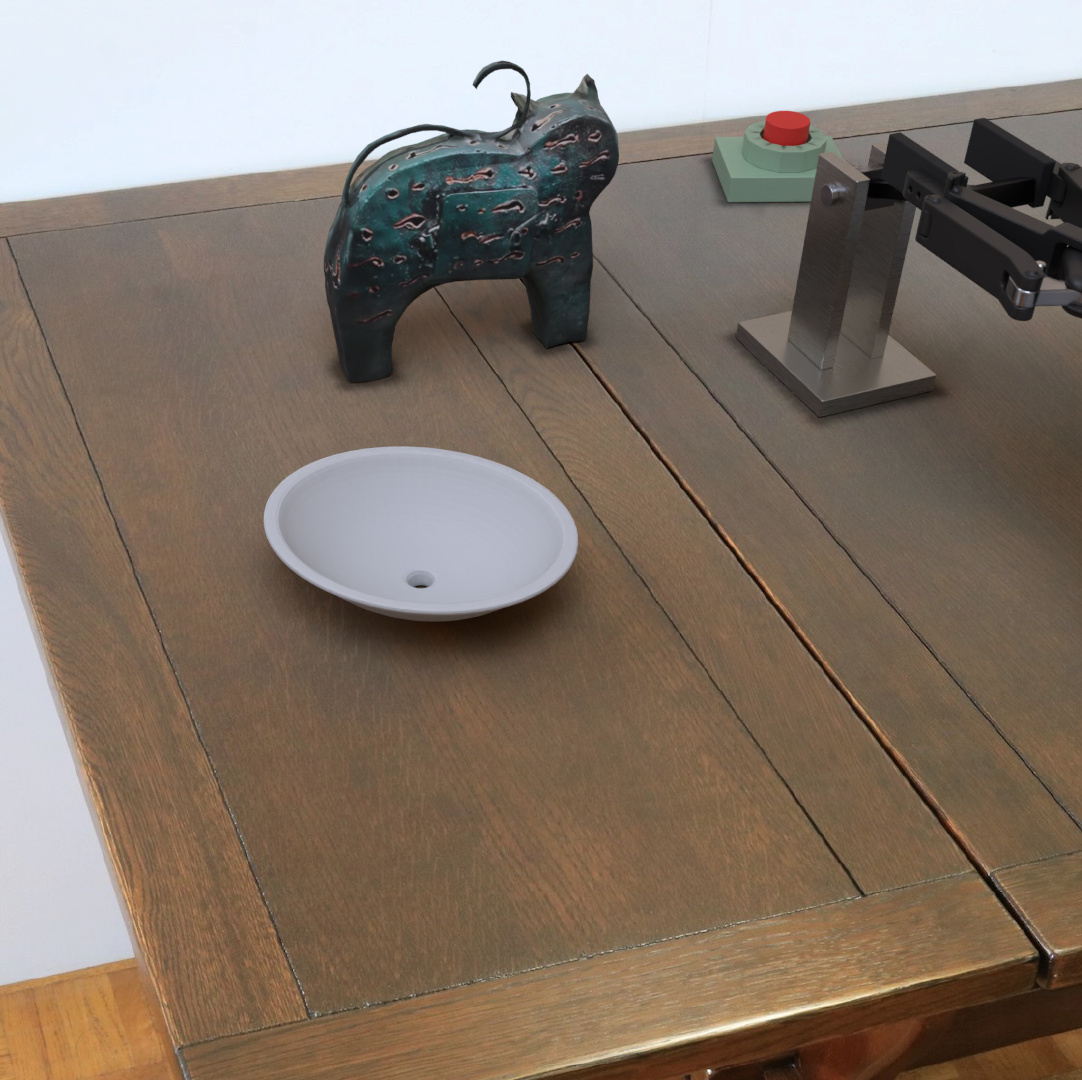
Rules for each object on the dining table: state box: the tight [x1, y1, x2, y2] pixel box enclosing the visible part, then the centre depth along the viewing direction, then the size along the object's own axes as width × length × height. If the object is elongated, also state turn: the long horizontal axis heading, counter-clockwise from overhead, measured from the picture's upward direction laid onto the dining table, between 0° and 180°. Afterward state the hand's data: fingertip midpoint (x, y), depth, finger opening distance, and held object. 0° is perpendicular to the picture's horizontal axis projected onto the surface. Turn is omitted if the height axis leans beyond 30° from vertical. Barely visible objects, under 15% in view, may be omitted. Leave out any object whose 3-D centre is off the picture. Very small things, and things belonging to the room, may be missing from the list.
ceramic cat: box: [323, 60, 620, 383], centre depth 100 cm, size 20×6×20 cm, turn 110°
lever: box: [854, 165, 1035, 211], centre depth 92 cm, size 14×5×2 cm, turn 22°
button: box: [763, 110, 811, 146], centre depth 125 cm, size 4×4×2 cm
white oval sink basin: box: [263, 445, 579, 622], centre depth 85 cm, size 18×14×5 cm
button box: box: [711, 119, 845, 203], centre depth 126 cm, size 10×8×4 cm
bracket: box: [735, 141, 937, 418], centre depth 101 cm, size 11×9×15 cm
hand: (933, 148), depth 90 cm, fingers open, 5 cm apart
